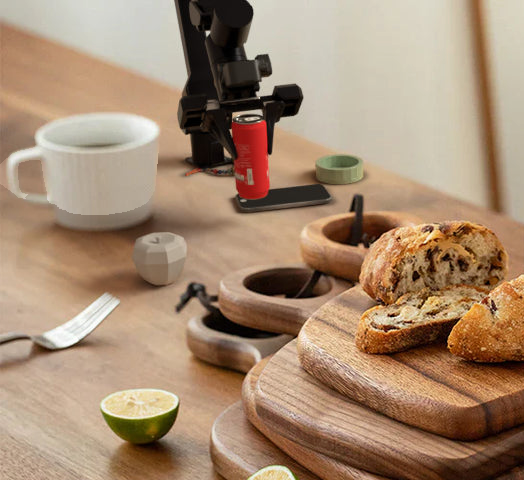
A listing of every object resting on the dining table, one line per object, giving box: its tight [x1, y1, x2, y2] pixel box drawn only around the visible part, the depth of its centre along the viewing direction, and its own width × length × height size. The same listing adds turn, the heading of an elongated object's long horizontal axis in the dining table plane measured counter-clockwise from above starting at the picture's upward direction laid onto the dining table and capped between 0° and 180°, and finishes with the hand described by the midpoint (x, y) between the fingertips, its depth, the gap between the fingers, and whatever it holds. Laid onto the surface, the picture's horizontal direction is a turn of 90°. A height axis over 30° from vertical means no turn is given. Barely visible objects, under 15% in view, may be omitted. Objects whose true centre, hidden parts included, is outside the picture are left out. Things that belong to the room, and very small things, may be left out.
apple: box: [131, 231, 188, 286], centre depth 148 cm, size 8×8×7 cm
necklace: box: [184, 156, 235, 177], centre depth 190 cm, size 8×11×2 cm
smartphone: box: [235, 183, 333, 213], centre depth 176 cm, size 8×1×15 cm
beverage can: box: [231, 113, 271, 199], centre depth 163 cm, size 5×5×12 cm
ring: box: [314, 153, 364, 185], centre depth 186 cm, size 8×8×3 cm
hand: (253, 156), depth 162 cm, fingers closed on beverage can, 5 cm apart
